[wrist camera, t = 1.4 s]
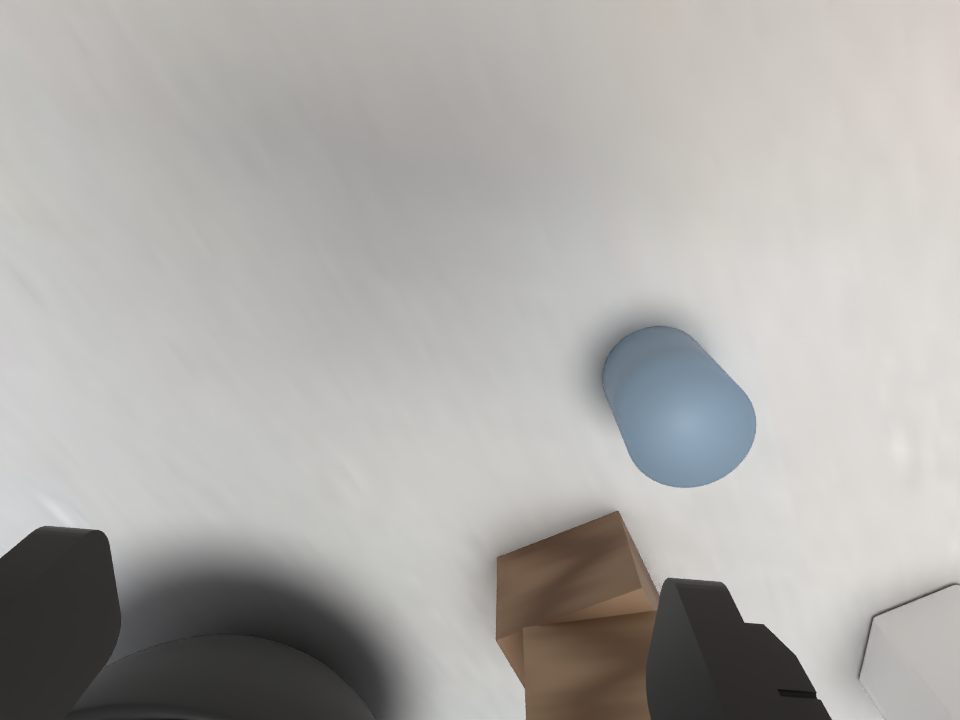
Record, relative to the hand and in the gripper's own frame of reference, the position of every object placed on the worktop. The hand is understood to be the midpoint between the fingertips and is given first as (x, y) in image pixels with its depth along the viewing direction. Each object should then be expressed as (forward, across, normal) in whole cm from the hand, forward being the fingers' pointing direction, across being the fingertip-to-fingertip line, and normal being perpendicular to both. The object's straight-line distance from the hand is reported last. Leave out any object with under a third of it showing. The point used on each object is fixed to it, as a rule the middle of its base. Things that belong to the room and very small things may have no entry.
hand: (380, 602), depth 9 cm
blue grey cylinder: (+21, -9, +4) cm, 23 cm away
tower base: (+21, -7, +16) cm, 27 cm away
